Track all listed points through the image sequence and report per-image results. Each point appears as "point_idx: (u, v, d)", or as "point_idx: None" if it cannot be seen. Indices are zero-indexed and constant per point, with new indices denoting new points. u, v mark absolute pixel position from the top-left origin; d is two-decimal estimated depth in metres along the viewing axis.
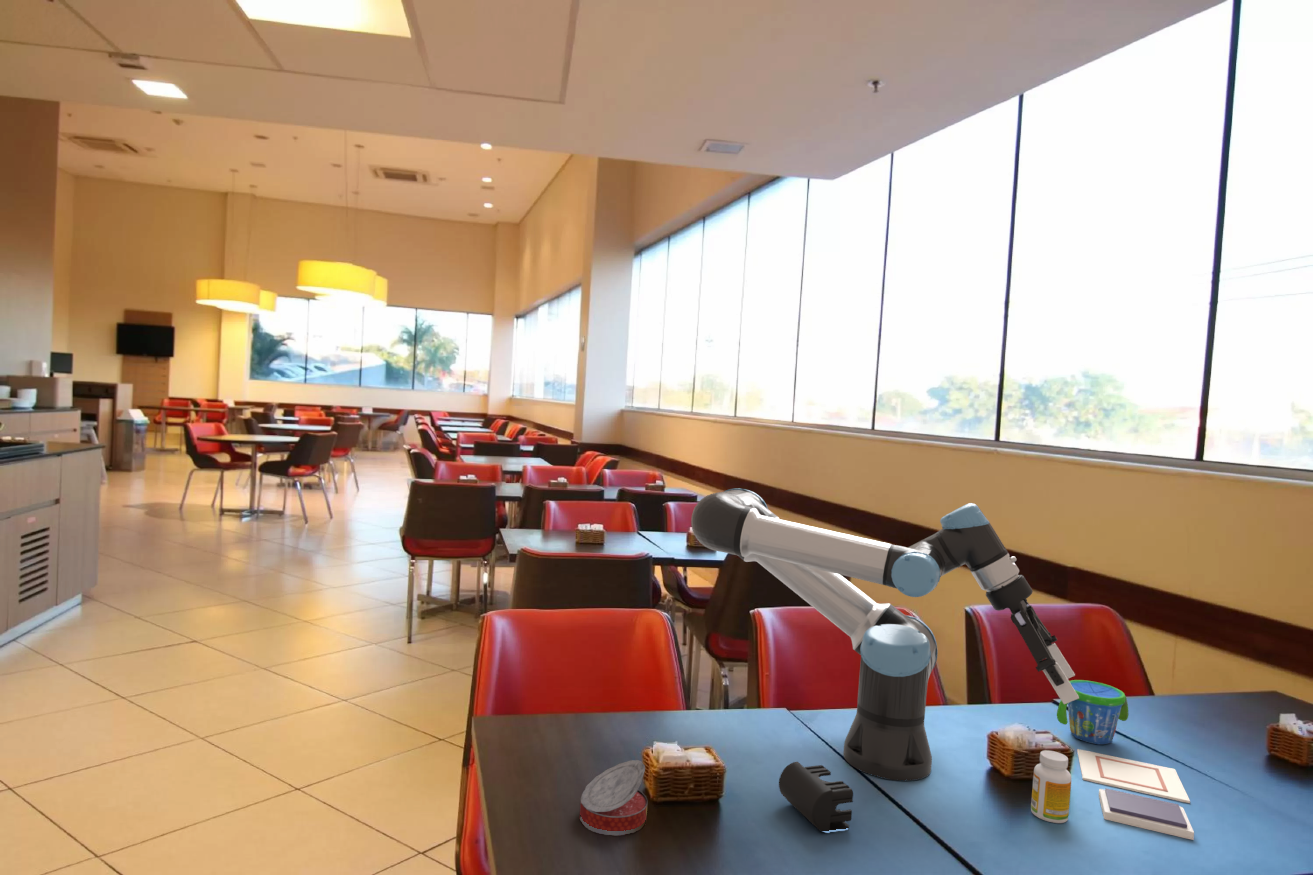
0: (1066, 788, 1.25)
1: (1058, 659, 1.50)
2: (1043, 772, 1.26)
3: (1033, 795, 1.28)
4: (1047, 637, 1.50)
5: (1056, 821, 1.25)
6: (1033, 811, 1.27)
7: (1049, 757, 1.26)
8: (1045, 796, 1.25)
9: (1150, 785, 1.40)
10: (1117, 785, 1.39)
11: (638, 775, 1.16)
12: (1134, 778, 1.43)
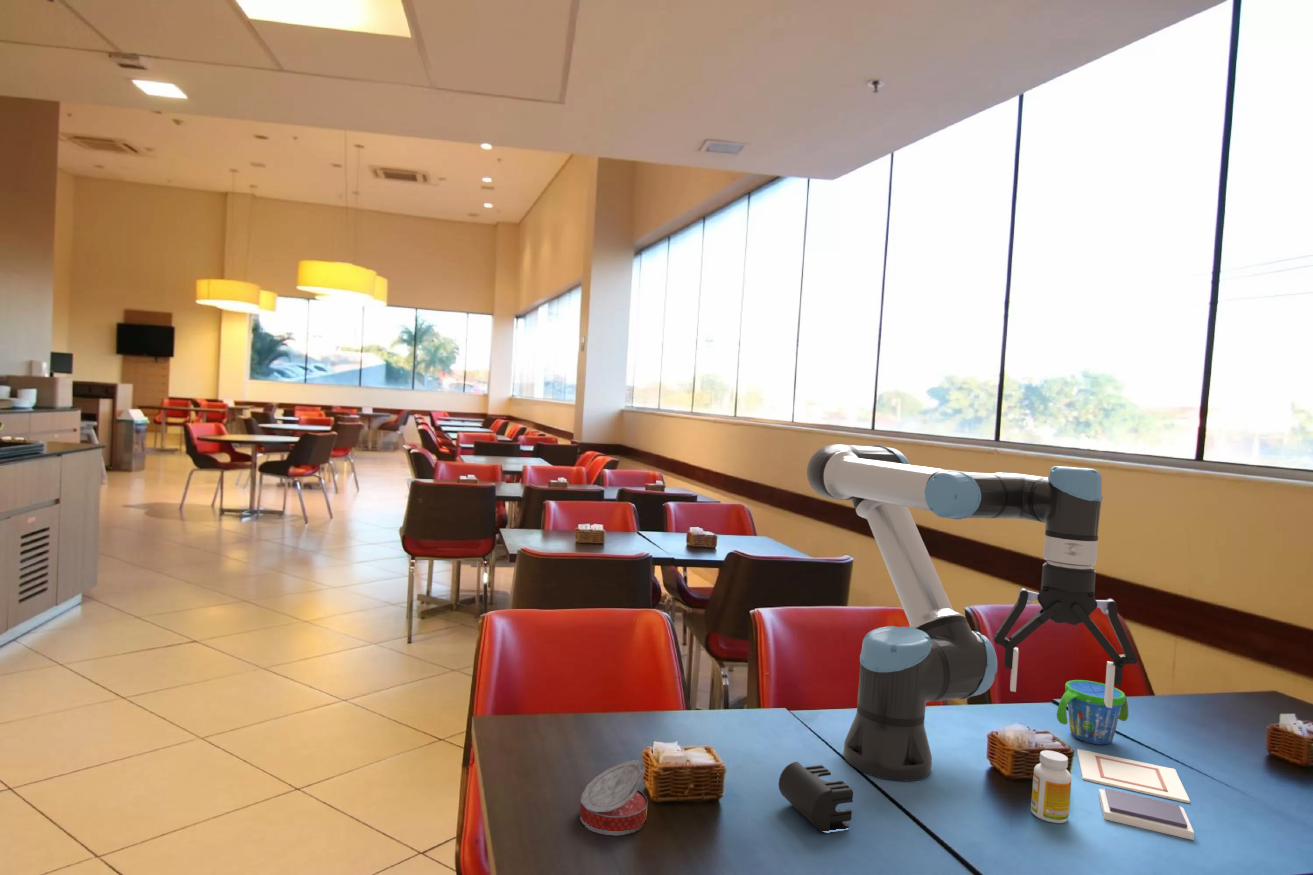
0: (1065, 788, 1.25)
1: (1107, 681, 1.25)
2: (1043, 772, 1.26)
3: (1033, 795, 1.28)
4: (1108, 654, 1.24)
5: (1056, 821, 1.25)
6: (1033, 811, 1.27)
7: (1049, 757, 1.26)
8: (1045, 796, 1.25)
9: (1150, 785, 1.40)
10: (1117, 785, 1.39)
11: (638, 775, 1.16)
12: (1134, 778, 1.43)
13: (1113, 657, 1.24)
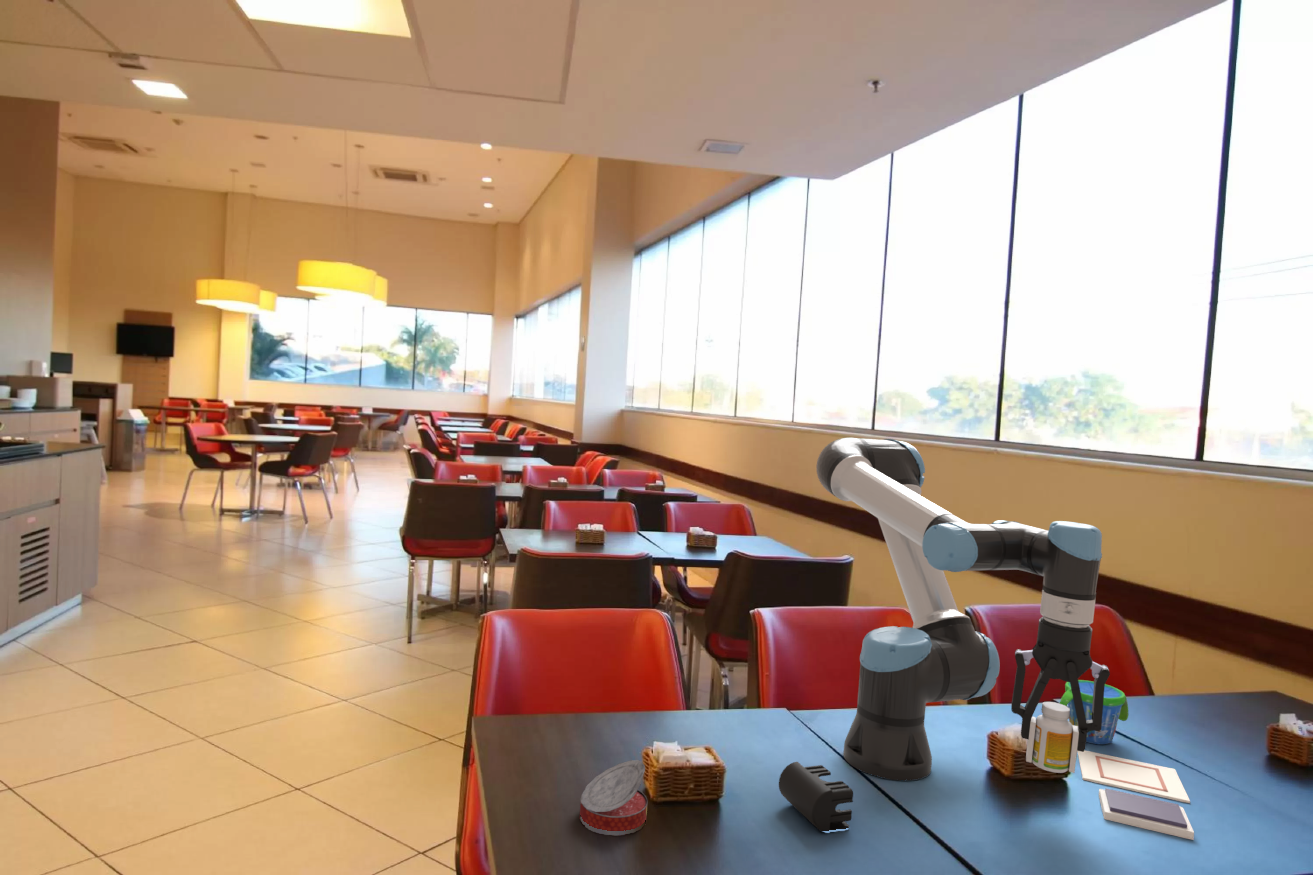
0: (1067, 738, 1.25)
1: (1071, 746, 1.26)
2: (1044, 722, 1.26)
3: (1034, 745, 1.28)
4: None
5: (1056, 770, 1.25)
6: (1034, 761, 1.28)
7: (1051, 708, 1.26)
8: (1046, 746, 1.26)
9: (1150, 785, 1.40)
10: (1117, 785, 1.39)
11: (638, 775, 1.16)
12: (1134, 778, 1.43)
13: (1080, 722, 1.25)
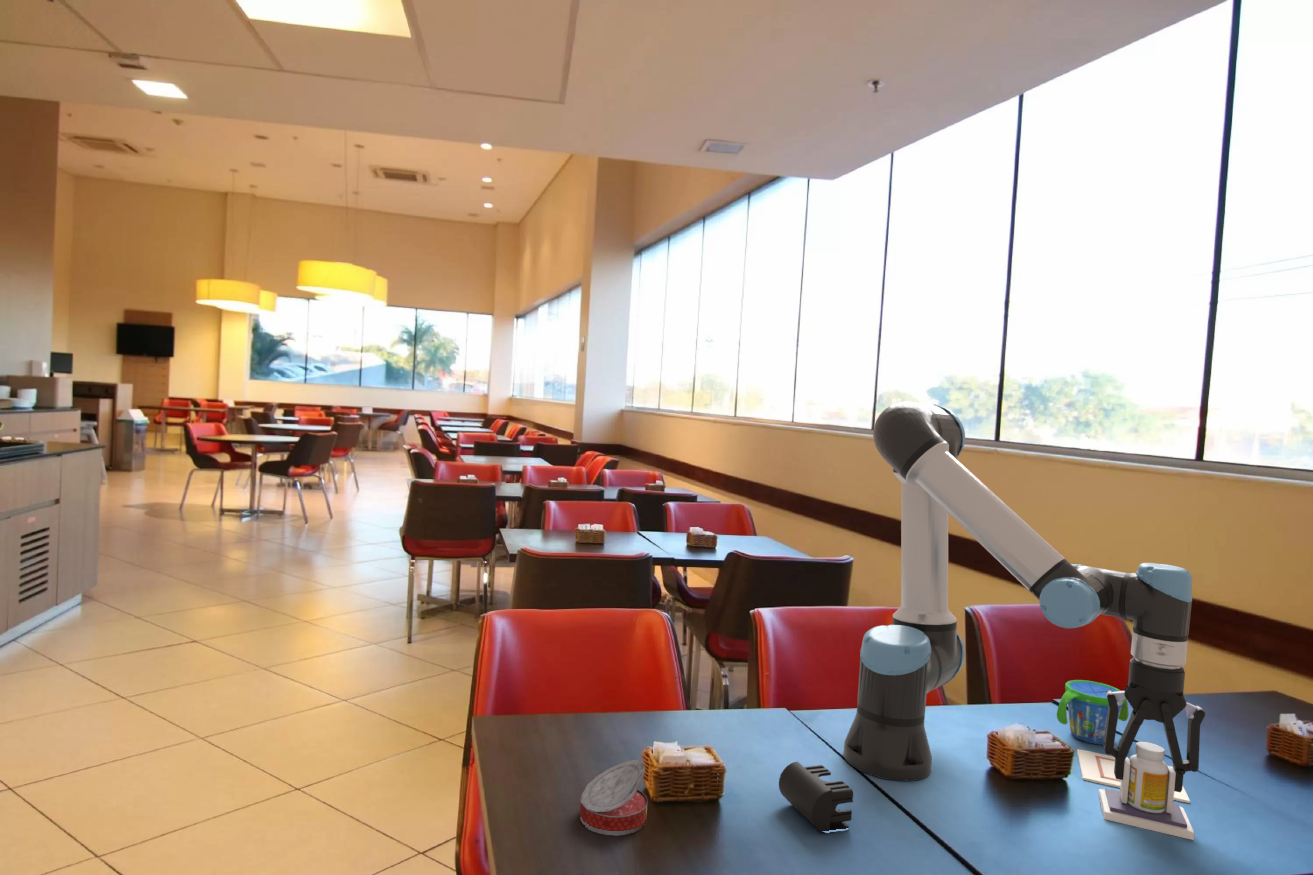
0: (1163, 779, 1.26)
1: (1167, 786, 1.27)
2: (1140, 763, 1.28)
3: (1129, 786, 1.29)
4: (1172, 757, 1.27)
5: (1154, 811, 1.26)
6: (1129, 802, 1.29)
7: (1146, 748, 1.28)
8: (1142, 787, 1.27)
9: None
10: (1117, 785, 1.39)
11: (638, 774, 1.16)
12: None
13: (1176, 762, 1.26)
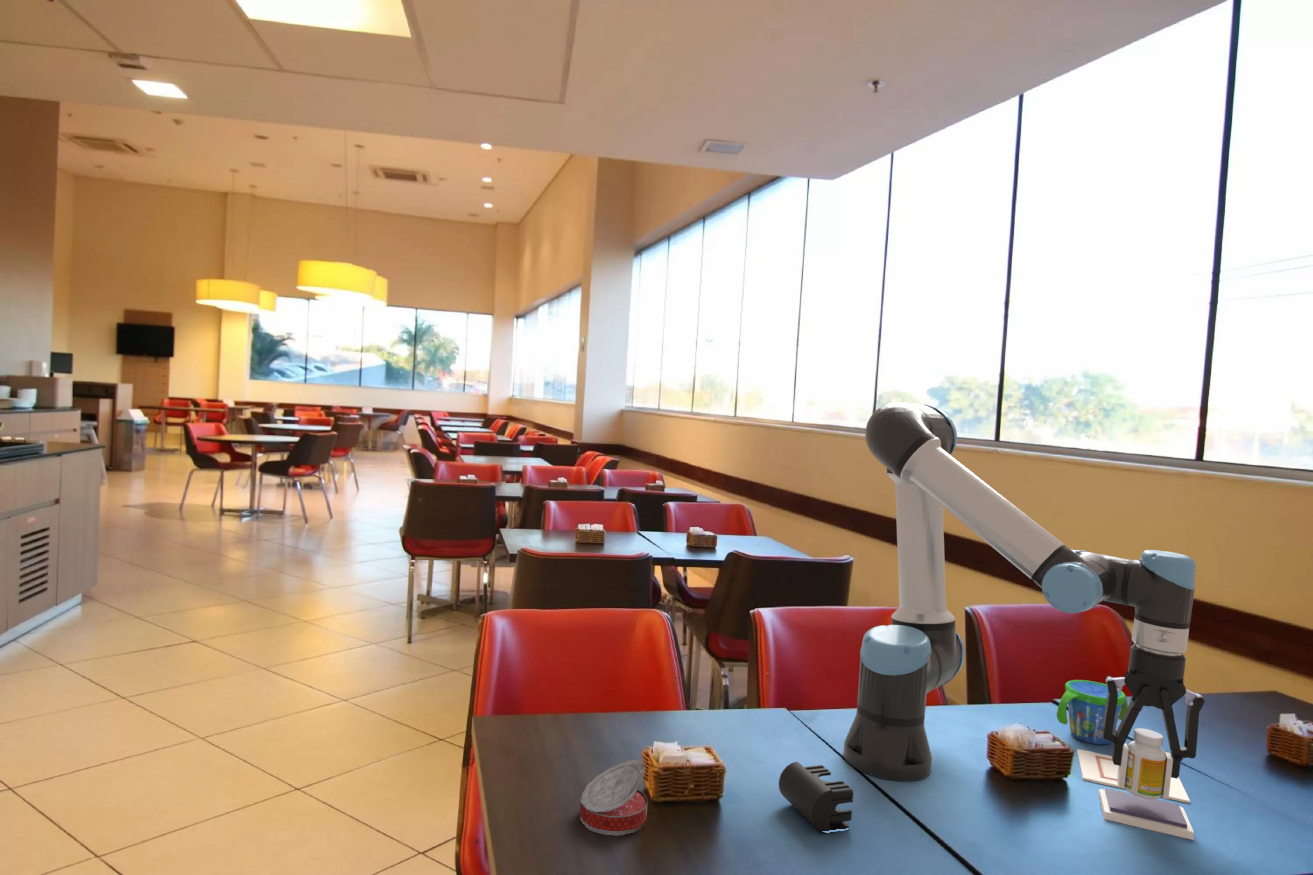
0: (1161, 765, 1.27)
1: (1164, 772, 1.28)
2: (1138, 749, 1.28)
3: (1127, 772, 1.29)
4: (1170, 744, 1.27)
5: (1151, 797, 1.27)
6: (1126, 787, 1.29)
7: (1145, 735, 1.28)
8: (1140, 773, 1.27)
9: None
10: (1117, 785, 1.39)
11: (638, 775, 1.16)
12: None
13: (1174, 749, 1.26)
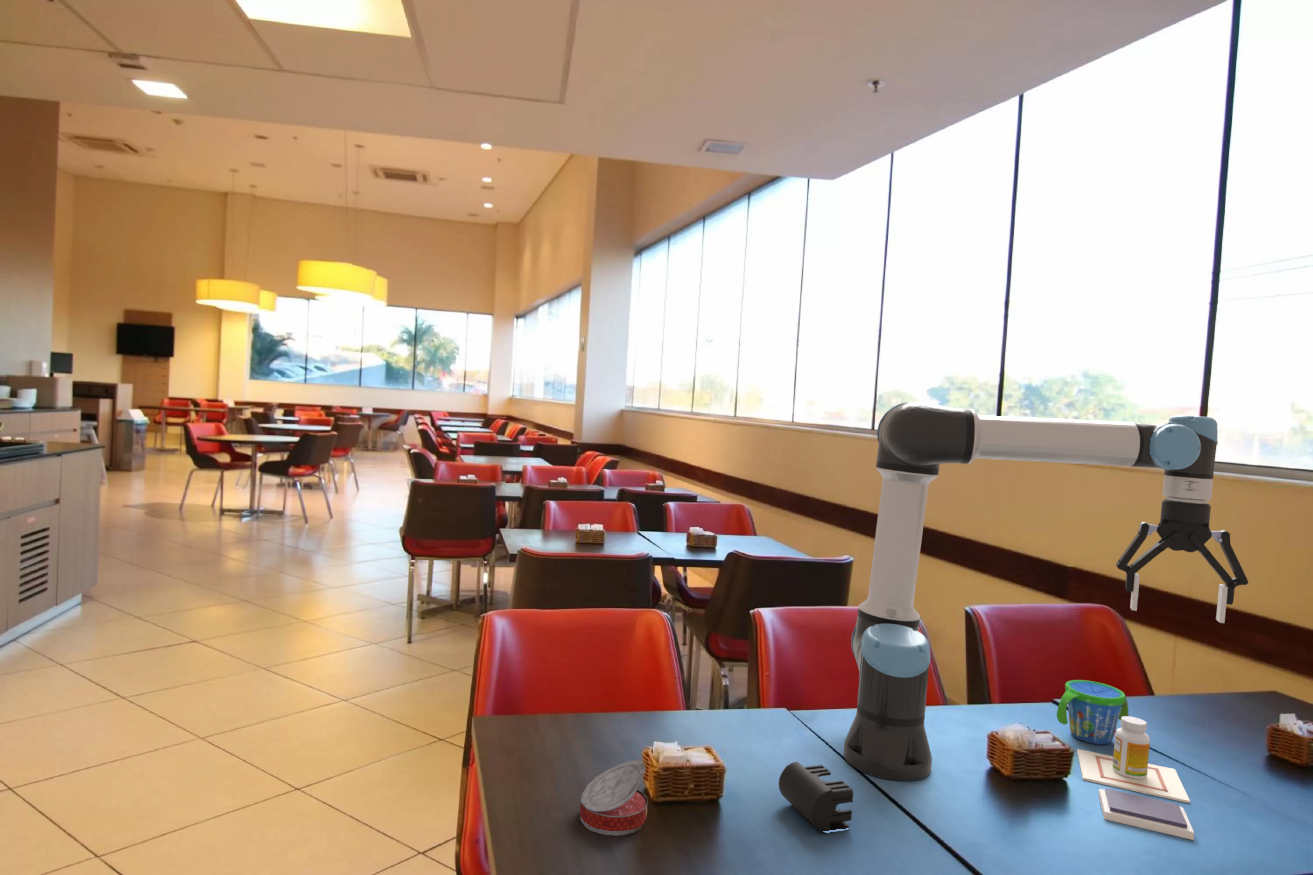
0: (1145, 748, 1.42)
1: (1220, 601, 1.45)
2: (1124, 734, 1.43)
3: (1115, 755, 1.45)
4: (1221, 577, 1.44)
5: (1137, 777, 1.42)
6: (1115, 769, 1.44)
7: (1130, 722, 1.43)
8: (1127, 756, 1.43)
9: (1150, 785, 1.40)
10: (1117, 785, 1.39)
11: (638, 775, 1.16)
12: None
13: (1226, 579, 1.43)
